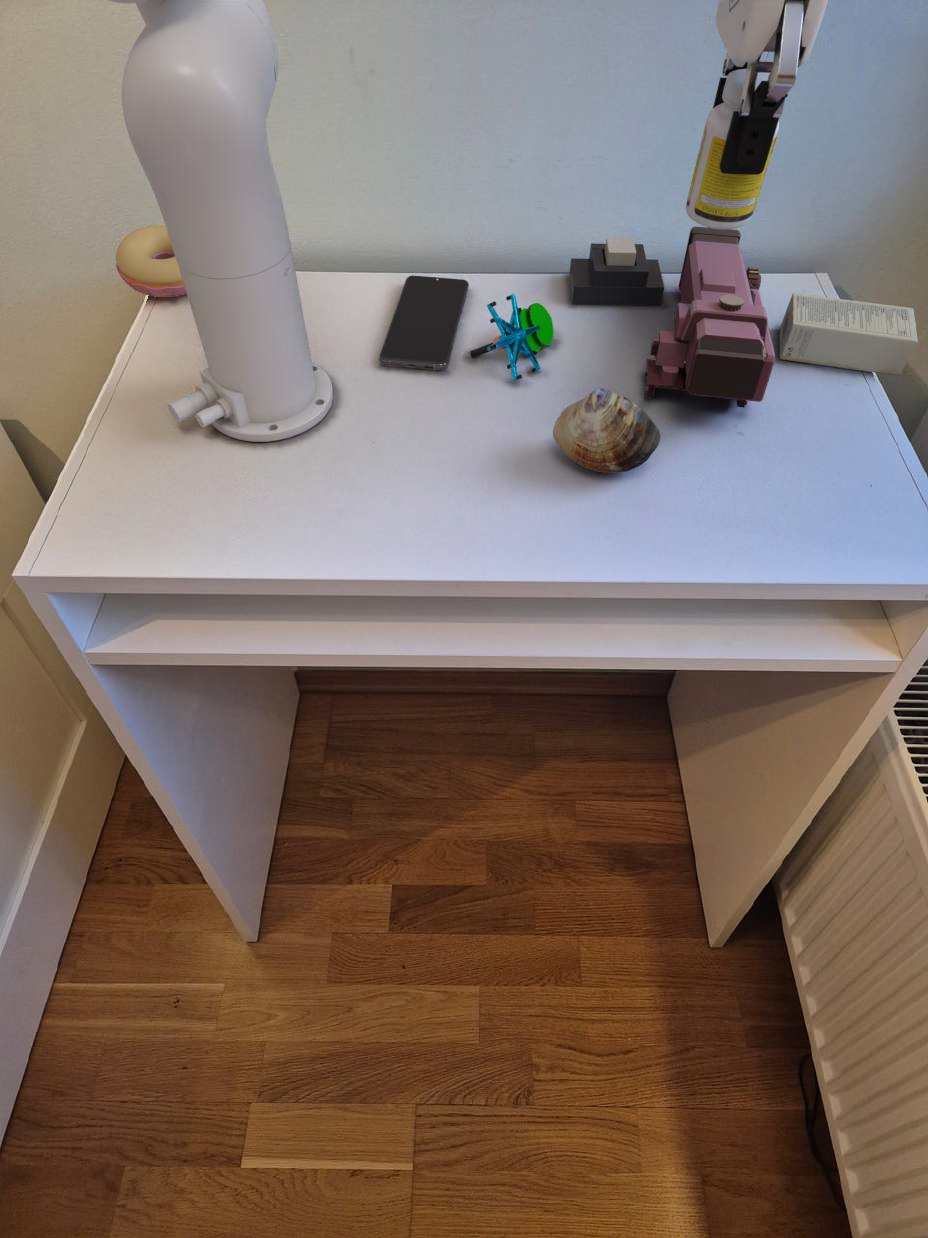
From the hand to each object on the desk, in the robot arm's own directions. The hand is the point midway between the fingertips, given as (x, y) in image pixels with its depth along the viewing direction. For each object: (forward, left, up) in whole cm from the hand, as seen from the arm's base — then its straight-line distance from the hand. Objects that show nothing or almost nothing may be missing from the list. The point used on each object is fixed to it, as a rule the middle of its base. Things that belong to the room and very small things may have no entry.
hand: (734, 151), depth 61 cm
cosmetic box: (+16, -2, -21) cm, 26 cm away
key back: (+11, +17, -19) cm, 28 cm away
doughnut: (-25, +53, -18) cm, 62 cm away
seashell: (-13, -2, -23) cm, 27 cm away
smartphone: (-10, +26, -23) cm, 36 cm away
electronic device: (+7, +2, -23) cm, 24 cm away
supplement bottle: (0, 0, -5) cm, 5 cm away
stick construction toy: (-7, +16, -23) cm, 29 cm away
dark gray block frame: (+11, +17, -23) cm, 30 cm away
